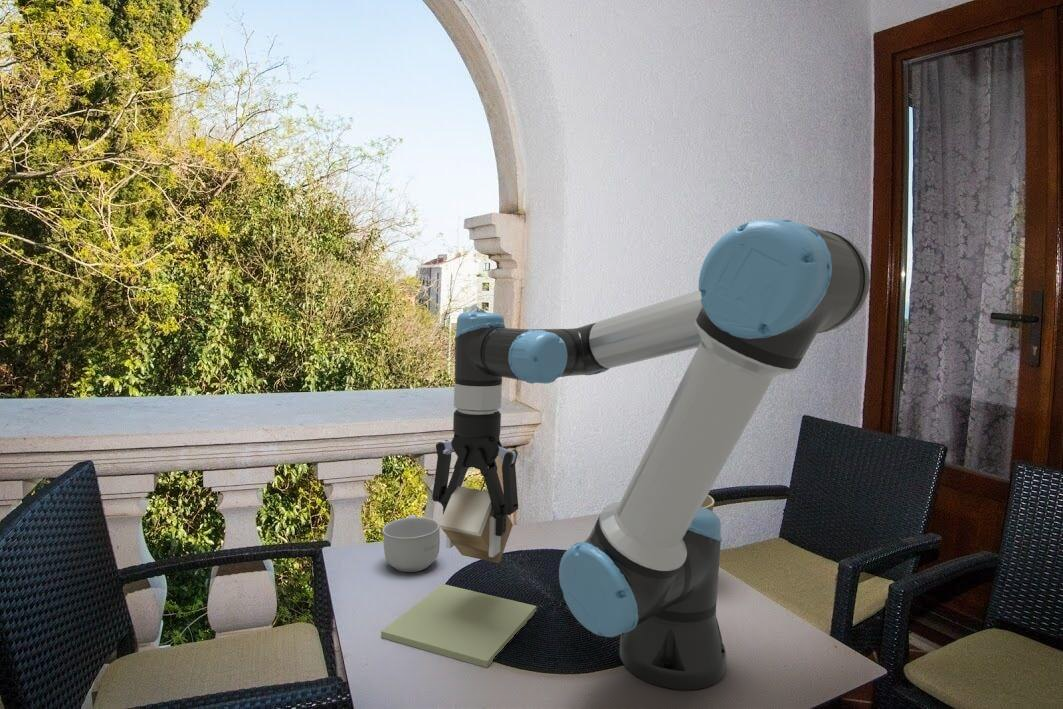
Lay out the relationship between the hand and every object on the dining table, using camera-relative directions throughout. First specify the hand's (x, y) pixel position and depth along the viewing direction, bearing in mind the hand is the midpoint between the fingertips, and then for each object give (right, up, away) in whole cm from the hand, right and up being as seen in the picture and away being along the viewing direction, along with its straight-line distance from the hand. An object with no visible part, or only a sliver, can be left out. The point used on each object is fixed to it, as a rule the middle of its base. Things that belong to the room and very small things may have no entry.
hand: (473, 549), depth 104 cm
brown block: (+2, 0, +5) cm, 5 cm away
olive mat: (-2, -11, -2) cm, 12 cm away
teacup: (-14, -9, +21) cm, 27 cm away
